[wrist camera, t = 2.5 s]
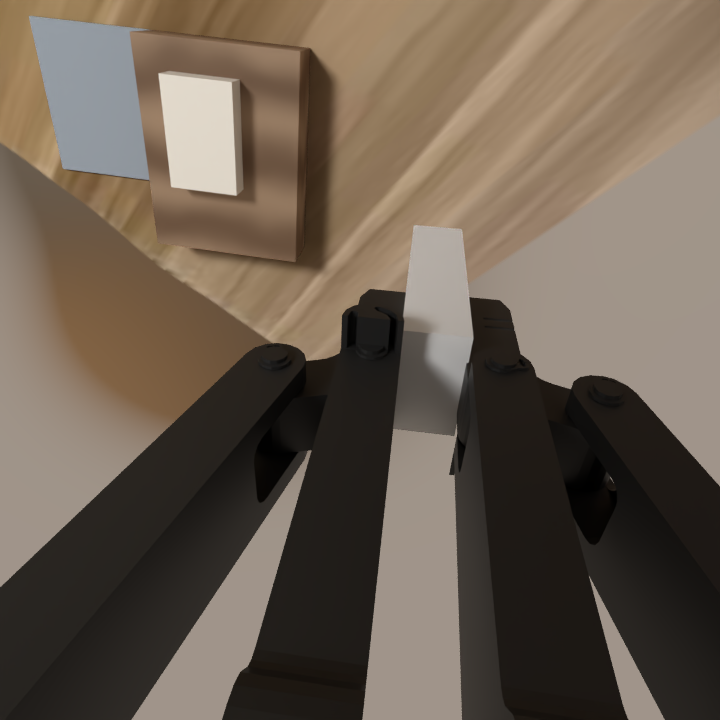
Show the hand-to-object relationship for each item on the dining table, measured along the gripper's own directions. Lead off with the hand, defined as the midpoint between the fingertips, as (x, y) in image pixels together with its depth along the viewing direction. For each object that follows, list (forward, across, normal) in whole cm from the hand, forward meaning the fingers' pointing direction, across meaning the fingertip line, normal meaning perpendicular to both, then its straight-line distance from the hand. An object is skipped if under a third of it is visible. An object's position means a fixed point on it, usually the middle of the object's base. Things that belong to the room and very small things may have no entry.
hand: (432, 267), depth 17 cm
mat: (+35, -31, -2) cm, 47 cm away
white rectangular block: (+31, -20, -3) cm, 37 cm away
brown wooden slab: (+35, -19, -5) cm, 40 cm away
